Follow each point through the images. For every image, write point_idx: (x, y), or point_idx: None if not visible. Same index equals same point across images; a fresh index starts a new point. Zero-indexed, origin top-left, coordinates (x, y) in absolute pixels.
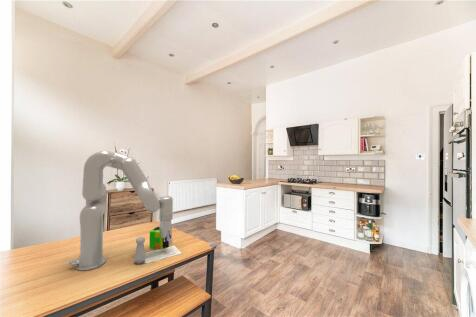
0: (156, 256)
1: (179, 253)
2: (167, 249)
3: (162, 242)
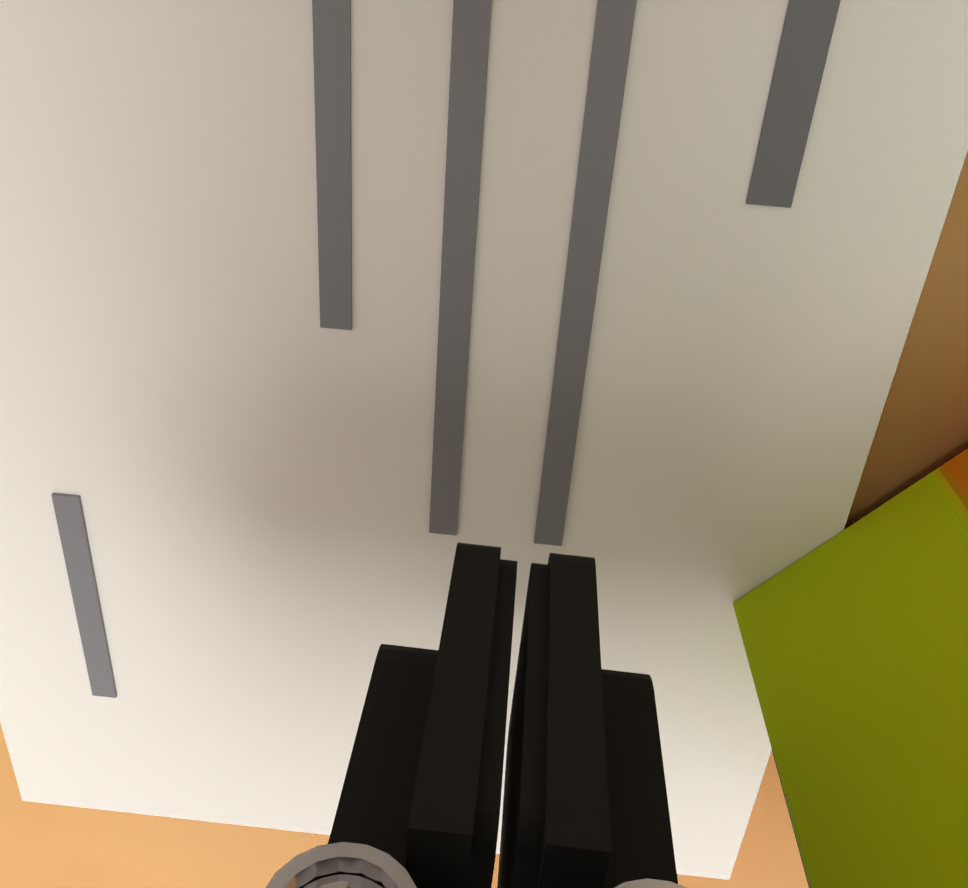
0: (189, 44)
1: (44, 758)
2: None
3: (932, 751)
